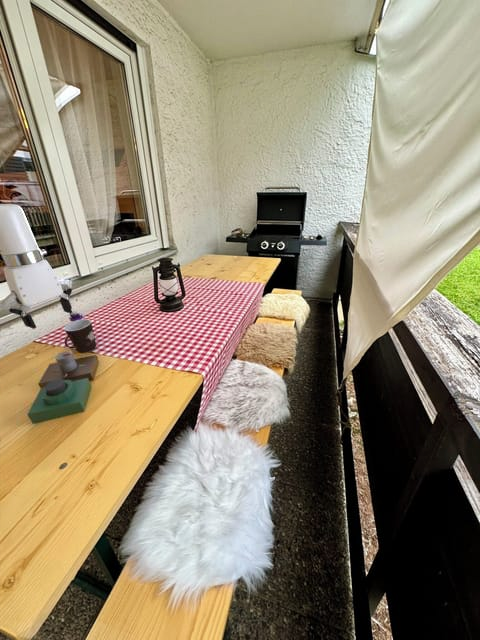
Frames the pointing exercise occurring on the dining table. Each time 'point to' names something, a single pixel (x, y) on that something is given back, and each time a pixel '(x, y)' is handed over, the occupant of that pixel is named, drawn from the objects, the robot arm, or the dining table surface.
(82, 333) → the coffee mug
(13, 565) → the dining table surface
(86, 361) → the dial panel
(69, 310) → the robot arm
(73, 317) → the potion bottle
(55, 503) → the dining table surface
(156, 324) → the dining table surface
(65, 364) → the dial
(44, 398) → the green flat block
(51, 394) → the dark grey short cylinder
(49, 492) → the dining table surface
